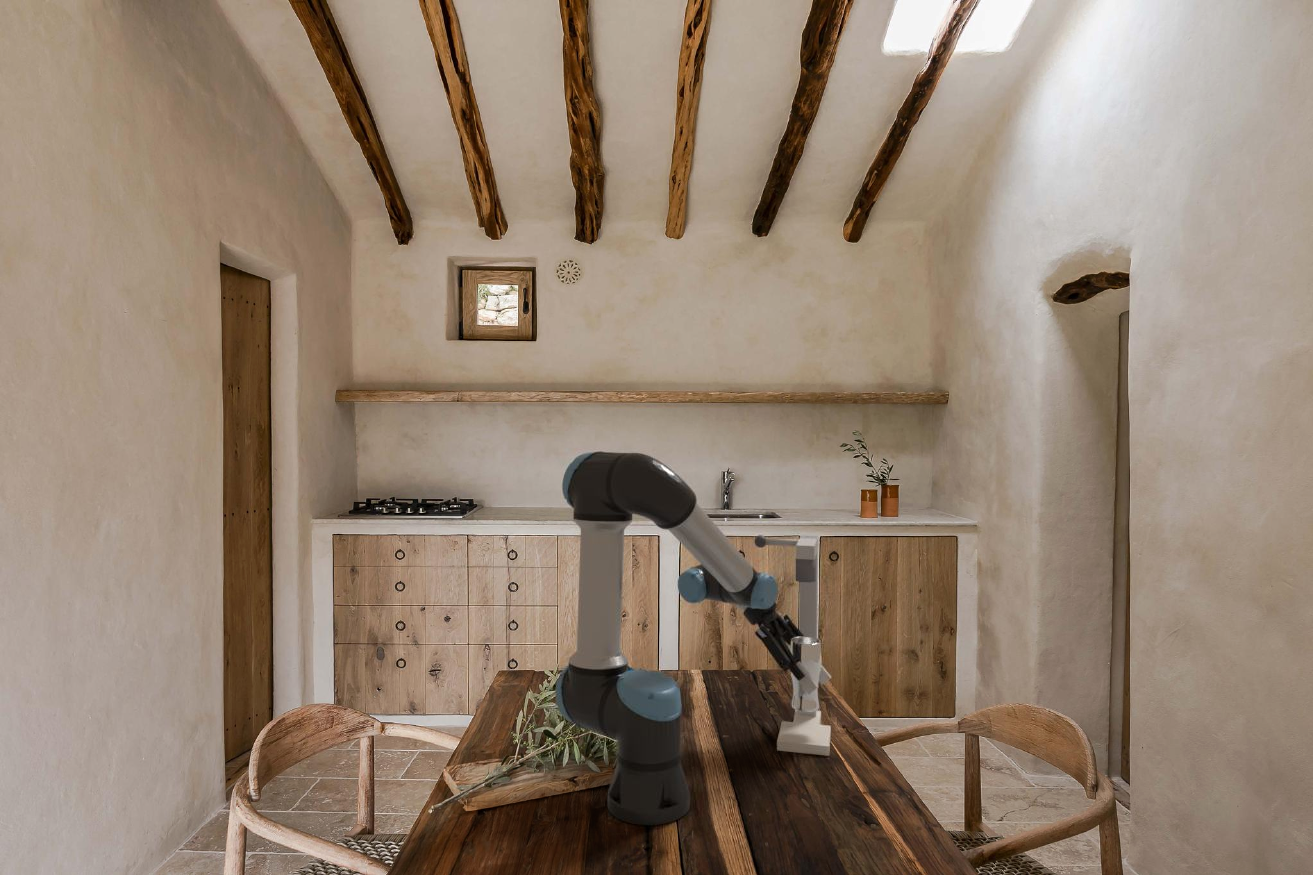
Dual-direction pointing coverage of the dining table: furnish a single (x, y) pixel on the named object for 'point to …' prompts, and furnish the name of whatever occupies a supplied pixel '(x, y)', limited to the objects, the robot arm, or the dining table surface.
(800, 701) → the beer glass
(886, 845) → the dining table surface
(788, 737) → the stand
